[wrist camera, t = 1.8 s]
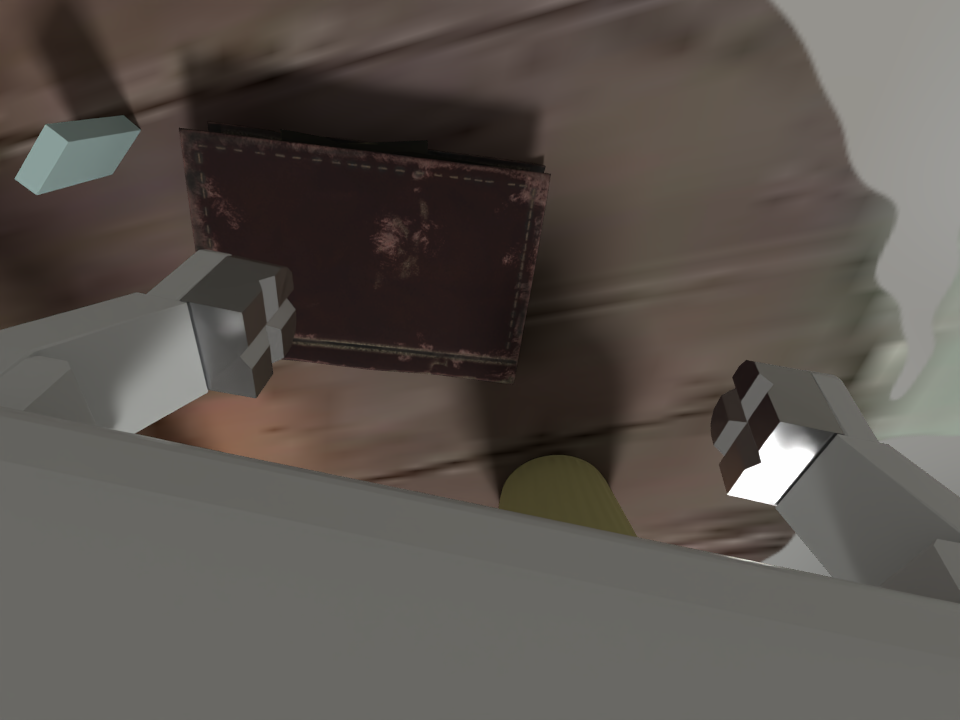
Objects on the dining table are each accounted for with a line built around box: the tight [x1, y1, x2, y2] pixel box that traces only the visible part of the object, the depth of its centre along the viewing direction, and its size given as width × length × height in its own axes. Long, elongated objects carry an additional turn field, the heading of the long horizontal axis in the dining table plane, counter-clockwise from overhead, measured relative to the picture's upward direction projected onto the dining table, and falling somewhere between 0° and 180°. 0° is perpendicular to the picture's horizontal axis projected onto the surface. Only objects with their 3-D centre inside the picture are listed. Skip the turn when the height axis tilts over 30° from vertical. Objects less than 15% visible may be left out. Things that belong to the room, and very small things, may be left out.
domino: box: [15, 115, 141, 195], centre depth 36 cm, size 4×1×8 cm, turn 135°
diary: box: [179, 122, 551, 384], centre depth 42 cm, size 19×25×5 cm
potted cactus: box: [499, 455, 637, 537], centre depth 43 cm, size 15×15×30 cm
